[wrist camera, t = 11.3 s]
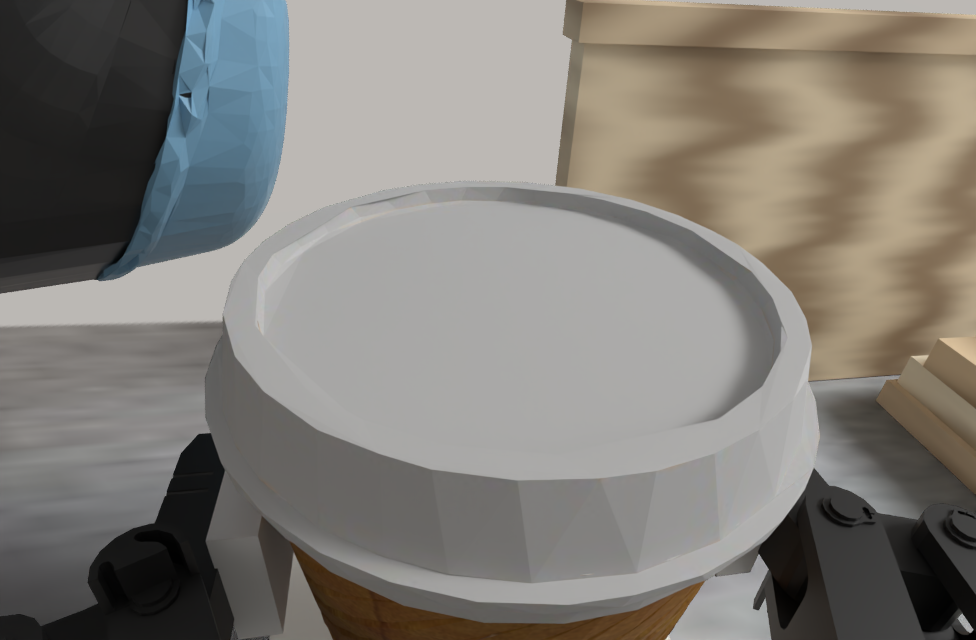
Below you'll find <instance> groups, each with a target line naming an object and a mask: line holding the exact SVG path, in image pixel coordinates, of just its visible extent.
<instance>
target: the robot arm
mask: <svg viewBox="0 0 976 640" xmlns="http://www.w3.org/2000/svg"><path fill="white" fill-rule="evenodd" d="M288 78H289V20H288V11H287V4H286V1H285V0H0V294H1V293H7V292H14V291H19V290H27V289H34V288H40V287H47V286H53V285H59V284H67V283H73V282H80V281H86V280H93V279H94V280H99V281H106V280H113V279H117V278H120V277H122V276H124V275H126V274H128V273H129V272H131V271H132V270H134V269H135V268H136V267H141V266H145V265H150V264H155V263H159V262H164V261H168V260H173V259H177V258H182V257H187V256H191V255H196V254H201V253H205V252H209V251H213V250H217V249H220V248H222V247H225V246H228V245H230V244H232V243H233V242H235V241H236V240H238V239H239V238H241V237H242V236H243V235H244V234H245V233H247V232H248V231H249V230H250V229H251V227H252V226H253V225H254V224H255V223H256V222H257V220H258V219H259V217H260V216H261V214H262V213H263V211H264V209H265V207H266V205H267V203H268V201H269V198H270V196H271V193H272V191H273V188H274V184H275V181H276V177H277V174H278V169H279V164H280V160H281V154H282V147H283V141H284V133H285V123H286V113H287V95H288V94H287V93H288ZM293 553H294V551H293V549H292V547H291V544H290V542H289V540H287V539H286V538H284V537H283V536H282V535H281V534H280V533H279V532H278V531H277V530H276V529H275V528H274V527H273V526H272V525H271V524H270V523H269V522H268V521H267V520H266V519H265V518H264V517H263V516H262V515H261V514H260V513H259V512H258V511H257V510H256V509H255V508H254V507H253V506H252V505H251V504H250V503H249V502H248V501H246V500H245V499H244V498H243V497H242V496H241V495H240V494H239V493H238V492H237V490H236V488H235V487H234V485H233V483H232V481H231V480H230V478H229V476H228V474H227V472H226V471H225V469H224V467H223V465H222V464H221V461H220V458H219V455H218V452H217V449H216V446H215V444H214V441H213V438H212V435H211V433H206V434H198V435H197V436H196V438H195V439H194V440H193V441H192V442H191V443H190V444H189V445H188V446H187V447H186V448H185V450H184V451H183V452H182V453H181V455H180V457H179V460H178V463H177V465H176V468H175V471H174V473H173V478H172V479H171V481H170V484H169V487H168V489H167V496H165V497H164V500H163V503H162V506H161V508H160V511H159V514H158V516H157V519H156V522H155V524H148V525H145V526H141V527H137V528H133V529H131V530H129V531H128V532H126V533H124V534H122V535H120V536H118V537H116V538H115V539H114V540H112V541H111V542H110V543H109V544H108V545H107V546H106V547H105V548H103V549H102V550H101V551H100V552H99V554H98V555H97V557H96V558H95V560H94V562H93V563H92V565H91V566H90V570H89V576H88V582H87V583H88V584H89V586H90V588H91V590H92V592H93V594H94V596H95V597H96V599H97V601H98V604H96V605H94V606H92V607H90V608H87V609H85V610H83V611H80V612H78V613H75V614H72V615H70V616H67V617H64V618H62V619H59V620H57V621H54V622H51V623H49V624H46V625H44V626H40V625H39V624H38V622H37V621H36V620H35V618H32V617H28V616H25V615H21V614H16V615H8V616H0V640H230V638H231V633H232V628H233V625H234V628H235V631H236V634H237V637H238V640H240V639H247V638H255V637H263V636H270V635H278V634H283V631H284V623H285V616H286V608H287V600H288V592H289V585H290V577H291V569H292V561H293ZM758 554H760V556H761V558H762V559H763V561H764V562H765V564H766V565H767V567H768V569H769V570H768V572H767V574H766V576H765V578H764V580H763V582H762V584H761V586H760V588H759V591H758V593H757V595H756V597H755V599H754V605H753V609H756V610H759V609H760V607H761V605H762V603H763V601H764V599H765V597H766V603H767V613H768V618H769V625H770V632H771V639H772V640H976V514H974V513H973V512H970V511H968V510H965V509H963V508H960V507H958V506H953V505H948V504H935V505H931V506H929V507H928V508H927V509H926V510H925V511H924V512H923V514H922V515H921V516H920V518H919V519H918V520H915V519H909V518H904V517H898V516H892V515H886V514H880V513H877V512H876V511H875V509H874V508H873V507H871V506H870V505H869V504H868V503H867V502H866V501H865V500H864V499H862V498H861V497H859V496H857V495H855V494H854V493H852V492H850V491H848V490H845V489H842V488H839V487H836V486H829V485H828V484H827V483H826V482H825V481H824V479H823V478H822V477H821V476H820V475H819V473H818V472H817V471H816V470H815V469H813V471H812V473H811V476H810V478H809V480H808V483H807V485H806V488H805V490H804V491H803V493H802V494H801V496H800V497H799V499H798V500H797V502H796V503H795V505H794V506H793V507H792V509H791V510H790V511H789V513H788V514H787V515H786V517H785V518H784V519H783V521H782V522H781V523H780V524H779V525H778V527H777V528H776V529H775V530H774V531H773V532H772V534H771V535H770V536H769V537H768V538H767V539H766V540H765V541H764V542H762V543H761V544H759V545H758V546H756V547H755V548H754V549H752V550H751V551H749V552H748V553H746V554H745V555H743V556H742V557H740V558H739V559H737V560H736V561H734V562H733V563H731V564H730V565H728V566H727V567H726V568H724V569H723V570H721V571H720V572H718V573H717V574H715V576H716V577H717V576H725V575H733V574H740V573H748V572H750V571H751V569H752V567H753V565H754V563H755V560H756V558H757V556H758ZM962 613H963V615H964V616H965V618H966V619H967V621H968V622H969V623H970V625H971V626H972V628H973V629H974V630H973V631H972V632H971V633H969V632H967V631H966V629H965V628H964V627H963V626H962V625H961V623H960V622H959V620H958V619H957V618H958V617H959V616H960V615H961V614H962Z"/></svg>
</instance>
